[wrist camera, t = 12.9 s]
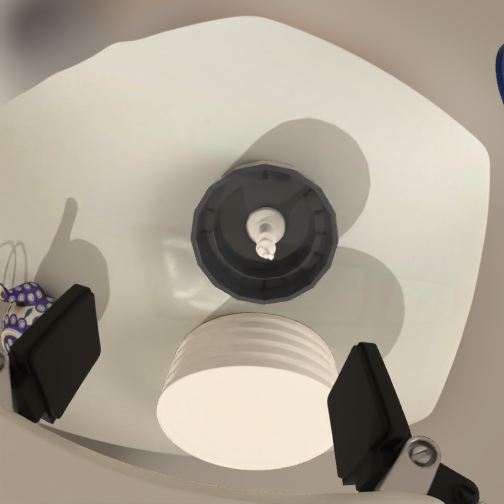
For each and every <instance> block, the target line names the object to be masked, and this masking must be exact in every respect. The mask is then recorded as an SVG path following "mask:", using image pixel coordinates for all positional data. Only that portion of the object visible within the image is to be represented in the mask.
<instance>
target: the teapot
mask: <svg viewBox="0 0 504 504" xmlns="http://www.w3.org/2000/svg"><path fill="white" fill-rule="evenodd" d="M0 299H1V300H2V301H4V302H8V303H11V304H10V306H9V307H8V308H7V310H6V311H5V313H4V316H3V320H2V332H3V333H2V344H3V347H4V349H5V351H6V353H7V354H8V353H9V352H10V351H11V350H10V347H11V346H12V344H13V343H14V342H15V341H16V340H17V339H18V338H19V337H20V336H21V335H22V334H23V333H24V332H25V331H26V330H27V329H28V328H29V327H30V326H31V325H32V324H33V323H34V322H35V321H36V320H37V319H38V318H39V317H40V316H41V315H42V314H43V313H44V312H45V311H46V310H47V309H48V308H49V307H50V306H51V305H52V304H53V303H54V302H56V301H57V300H56V299H54V298H52V297H50V296H48V295H46V294H45V293H44V291H43V289H42V288H41V287H40V286H39V285H38V284H37V283H33V282H27V283H24V284H21V285H19V286H17V287H15V288H13V289H10V290H7V289H6V288H5V287H4V286H3V285H2V284H1V283H0Z"/></svg>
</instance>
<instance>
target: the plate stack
mask: <svg viewBox="0 0 504 504" xmlns="http://www.w3.org/2000/svg"><path fill="white" fill-rule="evenodd" d="M337 378H338V374H337V370H336V366H335V362H334V358H333V355H332V353H331V351H330V349H329V347H328V346H327V344H326V343H325V342H324V340H323V339H322V338H321V337H320V336H319V335H317V334H316V333H315V332H314V331H312V330H311V329H309V328H308V327H306V326H304V325H302V324H300V323H298V322H296V321H294V320H291V319H288V318H285V317H281V316H277V315H271V314H264V313H239V314H232V315H227V316H223V317H219V318H216V319H213V320H211V321H208V322H206V323H204V324H202V325H200V326H199V327H197V328H196V329H194V330H193V331H192V332H190V333H189V334H188V335H187V336H186V337H185V338H184V340H183V341H182V342H181V344H180V346H179V347H178V350H177V352H176V354H175V357H174V360H173V362H172V365H171V368H170V371H169V373H168V376H167V379H166V381H165V384H164V386H163V389H162V392H161V395H160V397H159V400H158V403H157V418H158V421H159V424H160V426H161V428H162V429H163V431H164V432H165V434H166V435H167V436H168V437H169V438H170V439H171V440H172V441H173V442H174V443H175V444H176V445H177V446H179V447H180V448H181V449H183V450H184V451H186V452H188V453H189V454H191V455H193V456H195V457H197V458H200V459H202V460H204V461H207V462H210V463H213V464H216V465H220V466H224V467H229V468H235V469H244V470H269V469H278V468H284V467H288V466H293V465H296V464H300V463H302V462H305V461H308V460H310V459H312V458H314V457H316V456H318V455H320V454H322V453H323V452H325V451H326V450H328V449H329V448H330V447H331V446H332V445H333V438H332V432H331V425H330V419H329V412H328V406H327V398H328V395H329V393H330V391H331V389H332V387H333V385H334V383H335V381H336V380H337Z"/></svg>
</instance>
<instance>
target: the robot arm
mask: <svg viewBox="0 0 504 504" xmlns="http://www.w3.org/2000/svg"><path fill="white" fill-rule="evenodd" d="M10 350H11V351H10V352H9V353H8V354H7V353H6V352H5V351H4V350H3V349H1V348H0V504H486V503H485V502H484V501H481V502H480V503H479V491H478V488H477V486H476V485H475V483H473V482H472V481H471V480H469V479H467V478H465V477H464V476H462V475H460V474H459V473H457V472H455V471H453V470H452V469H450V468H448V467H447V466H445V465H443V464H442V463H440V461H441V452H440V449H439V447H438V445H437V444H436V443H435V442H434V441H433V440H431V439H430V438H428V437H425V436H414V437H412V435H411V433H410V429H409V426H408V423H407V420H406V418H405V415H404V412H403V410H402V407H401V404H400V402H399V399H398V397H397V394H396V391H395V389H394V386H393V384H392V381H391V379H390V376H389V374H388V372H387V369H386V367H385V364H384V362H383V360H382V357H381V355H380V352H379V350H378V348H377V346H376V344H374V343H366V342H359V343H358V345H357V346H356V345H355V346H353V348H352V349H351V351H350V354H349V356H348V358H347V360H346V362H345V364H344V366H343V368H342V370H341V372H340V374H339V376H338V378H337V380H336V381H335V383H334V385H333V387H332V389H331V391H330V393H329V395H328V398H327V406H328V412H329V419H330V425H331V432H332V438H333V445H334V451H335V459H336V465H337V474H338V477H339V478H342V481H343V485H356V490H357V491H356V493H338V494H291V493H272V492H259V491H250V490H241V489H234V488H227V487H220V486H214V485H208V484H203V483H198V482H193V481H188V480H184V479H179V478H175V477H171V476H167V475H163V474H160V473H156V472H152V471H149V470H146V469H142V468H139V467H136V466H133V465H129V464H127V463H124V462H121V461H118V460H115V459H112V458H110V457H107V456H104V455H102V454H99V453H97V452H94V451H92V450H89V449H87V448H85V447H82V446H80V445H78V444H76V443H73V442H71V441H69V440H67V439H65V438H63V437H61V436H58V435H56V434H54V433H52V432H50V431H48V430H46V429H44V428H42V427H41V426H39V425H38V422H39V420H40V419H43V420H45V421H47V422H49V423H51V424H53V423H54V422H55V420H56V418H57V419H59V418H61V416H62V415H63V413H64V411H65V410H66V408H67V406H68V405H69V403H70V402H71V400H72V398H73V397H74V395H75V393H76V392H77V390H78V389H79V387H80V385H81V384H82V382H83V381H84V379H85V378H86V376H87V374H88V373H89V371H90V370H91V368H92V367H93V365H94V364H95V362H96V361H97V359H98V358H99V356H100V352H101V347H100V340H99V333H98V325H97V317H96V308H95V298H94V294H93V293H92V292H91V290H90V288H89V287H85V286H82V285H79V284H74V285H73V286H72V287H71V288H70V289H68V290H67V291H66V292H65V293H64V294H63V295H62V296H61V297H60V298H59V299H58V300H57V301H56V302H54V303H53V304H52V305H51V306H50V307H49V308H48V309H47V310H46V311H45V312H44V313H43V314H42V315H41V316H40V317H39V318H38V319H37V320H36V321H35V322H34V323H33V324H32V325H31V326H30V327H29V328H28V329H27V330H26V331H25V332H24V333H23V334H22V335H21V336H20V337H19V338H18V339H17V340H16V341H15V342H14V343H13V344H12V346H11V347H10Z"/></svg>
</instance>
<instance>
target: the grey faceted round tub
mask: <svg viewBox="0 0 504 504" xmlns="http://www.w3.org/2000/svg"><path fill="white" fill-rule="evenodd" d="M262 207H270V208H273V209H275V210H277V211H278V212H280V213H281V215H282V216H283V218H284V220H285V232H284V235H283V237H282V238H281V239H280V240H279V241H278V242H277V243H275V246H276V251H275V253H274V254H273V255H274V258H273V259H272V260H270V259H269V258H267V259H265V258H264V257H261V256H259V255H258V253H257V252H256V245H257V244H256V243H255V242H254V241H253V240H252V239H251V238H250V237H249V235H248V233H247V229H246V223H247V219H248V217H249V216H250V214H251V213H252V212H253V211H255V210H256V209H259V208H262ZM191 242H192V246H193V249H194V253H195V256H196V260H197V263H198V266H199V267H200V268H201V269H202V271H203V272H204V273H205V275H206V276H207V277H208V278H209V280H210V281H211V282H212V284H213V285H214V286H215V287H217V288H219V289H220V290H222V291H224V292H225V293H227V294H229V295H230V296H232V297H234V298H235V299H237V300H242V301H247V302H252V303H257V304H271V303H277V302H284V301H290V300H292V299H294V298H295V297H297V296H299V295H301V294H303V293H304V292H306V291H308V290H310V289H311V288H313V287H314V286H315V285H316V284H317V282H318V281H319V280H320V279H321V278H322V276H323V275H324V274H325V273H326V272H327V270H328V269H329V268H330V266H331V264H332V260H333V257H334V254H335V251H336V248H337V244H338V231H337V222H336V214H335V211H334V210H333V208H332V206H331V205H330V203H329V201H328V199H327V198H326V196H325V194H324V193H323V191H322V189H321V188H320V187H319V186H318V185H317V184H316V183H315V182H314V181H312V180H311V179H310V178H308V177H307V176H305V175H304V174H303V173H301V172H300V171H298V170H297V169H296V168H294V167H293V166H291V165H286V164H281V163H277V162H272V161H267V160H263V161H258V162H252V163H247V164H242V165H239V166H237V167H236V168H234V169H233V170H231V171H230V172H228V173H227V174H225V175H224V176H222V177H221V178H219V179H218V180H217V181H216V182H214V183H213V184H212V185H211V186H210V187H209V188H208V190H207V192H206V193H205V195H204V196H203V198H202V200H201V201H200V203H199V204H198V206H197V208H196V209H195V211H194V217H193V224H192V232H191Z"/></svg>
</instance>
